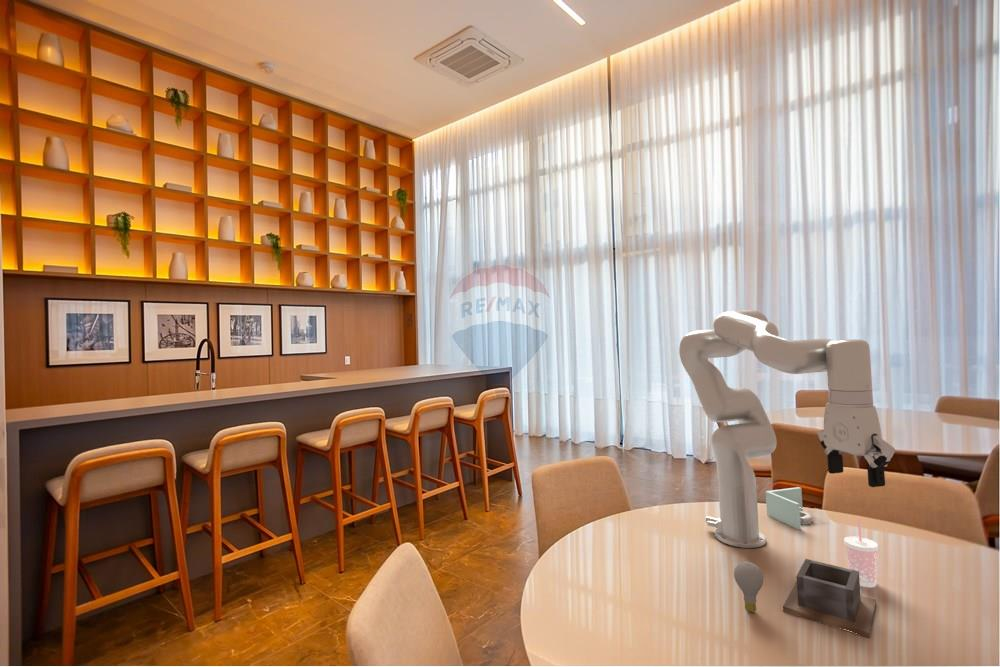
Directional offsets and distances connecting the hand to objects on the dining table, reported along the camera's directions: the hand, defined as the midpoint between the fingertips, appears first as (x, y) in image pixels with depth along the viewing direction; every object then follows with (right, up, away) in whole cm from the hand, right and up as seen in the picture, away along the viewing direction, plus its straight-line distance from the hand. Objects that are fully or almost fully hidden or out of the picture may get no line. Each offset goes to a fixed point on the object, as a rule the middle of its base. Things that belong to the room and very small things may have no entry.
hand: (855, 479), depth 99 cm
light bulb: (-23, -27, -2) cm, 36 cm away
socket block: (-7, -26, -2) cm, 27 cm away
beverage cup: (+7, -26, +7) cm, 27 cm away
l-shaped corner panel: (+16, -26, +43) cm, 53 cm away
